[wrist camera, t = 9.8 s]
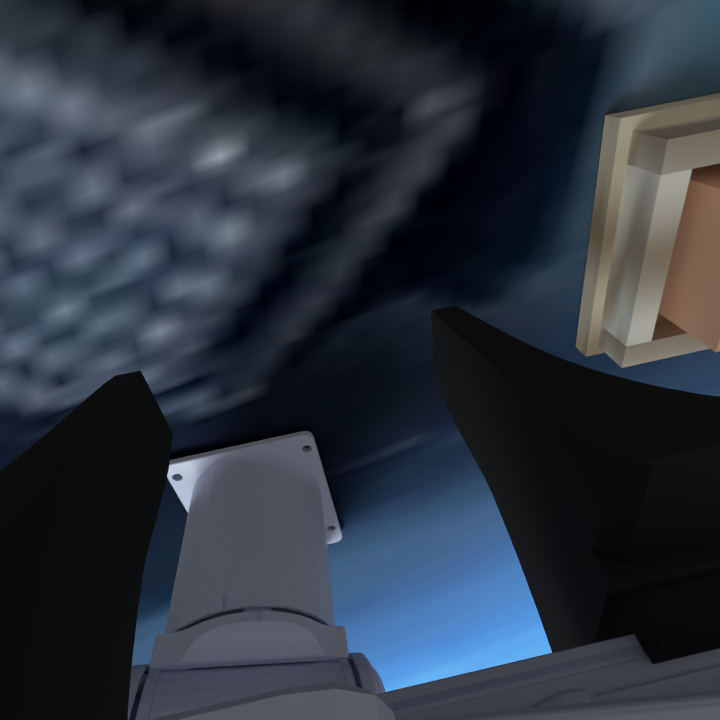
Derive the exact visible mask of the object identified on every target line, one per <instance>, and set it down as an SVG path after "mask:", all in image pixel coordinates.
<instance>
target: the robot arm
mask: <svg viewBox="0 0 720 720" xmlns="http://www.w3.org/2000/svg"><path fill="white" fill-rule="evenodd" d="M431 316H432V330H433V344H434V358H435V372H436V379H437V382H438V384H439V387H440V390H441V393H442V395H443V398H444V401H445V403H446V406H447V408H448V410H449V412H450V414H451V416H452V418H453V420H454V422H455V424H456V426H457V427H458V429H459V431H460V433H461V435H462V437H463V439H464V440H465V442H466V444H467V446H468V448H469V450H470V451H471V453H472V455H473V457H474V459H475V461H476V462H477V464H478V466H479V468H480V470H481V472H482V473H483V475H484V477H485V479H486V481H487V483H488V485H489V488H490V490H491V492H492V494H493V496H494V499H495V501H496V504H497V506H498V509H499V511H500V513H501V516H502V518H503V521H504V523H505V526H506V528H507V531H508V533H509V536H510V538H511V541H512V544H513V546H514V549H515V551H516V554H517V556H518V559H519V561H520V564H521V567H522V569H523V572H524V575H525V577H526V580H527V583H528V586H529V588H530V591H531V594H532V596H533V599H534V602H535V605H536V607H537V610H538V613H539V616H540V618H541V621H542V624H543V627H544V630H545V633H546V636H547V638H548V641H549V644H550V647H551V650H552V653H550V654H546V655H542V656H537V657H533V658H529V659H525V660H520V661H516V662H512V663H508V664H503V665H499V666H495V667H491V668H486V669H482V670H478V671H474V672H469V673H465V674H461V675H457V676H452V677H448V678H444V679H440V680H436V681H431V682H427V683H423V684H419V685H414V686H410V687H406V688H402V689H397V690H393V691H389V692H385V688H384V686H383V683H382V680H381V678H380V676H379V674H378V673H377V671H376V670H375V669H374V668H373V667H372V666H371V664H370V662H369V661H368V659H367V658H366V657H365V655H363V654H362V653H359V652H358V653H348V646H347V638H346V629H345V627H344V626H335V618H334V608H333V598H332V588H331V578H330V568H329V558H328V548H327V544H331V543H335V542H338V541H340V540H341V539H342V532H341V528H340V525H339V521H338V518H337V514H336V511H335V508H334V504H333V501H332V497H331V494H330V490H329V487H328V483H327V480H326V477H325V473H324V470H323V466H322V463H321V459H320V456H319V453H318V449H317V446H316V442H315V439H314V436H313V434H312V433H311V432H309V431H301V432H296V433H292V434H287V435H283V436H278V437H273V438H269V439H264V440H260V441H255V442H250V443H246V444H241V445H237V446H232V447H227V448H223V449H218V450H214V451H209V452H204V453H200V454H195V455H191V456H186V457H181V458H177V459H172V460H170V455H171V444H172V431H171V429H170V427H169V425H168V423H167V421H166V419H165V417H164V415H163V413H162V411H161V409H160V408H159V406H158V404H157V402H156V400H155V398H154V396H153V394H152V392H151V390H150V388H149V386H148V384H147V382H146V380H145V378H144V376H143V375H142V373H141V371H136V372H132V373H127V374H122V375H117V376H114V377H113V378H112V379H110V380H109V381H107V382H106V383H105V384H103V385H102V386H101V387H100V388H99V389H97V390H96V391H95V392H94V393H93V394H92V395H90V396H89V397H88V398H87V399H86V400H85V401H84V402H82V403H81V404H80V405H79V406H78V407H77V408H76V409H74V410H73V411H72V412H71V413H70V414H69V415H68V416H66V417H65V418H64V419H63V420H62V421H61V422H60V423H59V424H57V425H56V426H55V427H54V428H53V429H52V430H51V431H49V432H48V433H47V434H46V435H45V436H43V437H42V438H41V439H40V440H38V441H37V442H36V443H35V444H34V445H32V446H31V447H30V448H29V449H28V450H26V451H25V452H24V453H23V454H21V455H20V456H19V457H18V458H17V459H15V460H14V461H13V462H12V463H10V464H9V465H8V466H7V467H5V468H4V469H3V470H1V471H0V720H720V397H716V396H709V395H701V394H695V393H690V392H685V391H679V390H674V389H668V388H663V387H658V386H654V385H649V384H645V383H640V382H636V381H632V380H628V379H625V378H621V377H617V376H613V375H609V374H606V373H602V372H599V371H596V370H593V369H589V368H586V367H584V366H581V365H578V364H575V363H572V362H569V361H567V360H564V359H561V358H558V357H556V356H553V355H551V354H549V353H546V352H544V351H542V350H539V349H537V348H535V347H533V346H531V345H528V344H526V343H524V342H522V341H520V340H518V339H516V338H514V337H512V336H510V335H508V334H506V333H504V332H502V331H500V330H498V329H497V328H495V327H493V326H491V325H489V324H487V323H486V322H484V321H482V320H480V319H479V318H477V317H475V316H473V315H471V314H470V313H468V312H466V311H464V310H462V309H460V308H458V307H456V306H453V307H448V308H443V309H438V310H434V311H431ZM307 445H308V446H310V447H304V446H307ZM175 474H180V475H175ZM167 478H168V479H169V481H170V483H171V485H172V486H173V488H174V490H175V492H176V493H177V495H178V497H179V498H180V500H181V502H182V504H183V505H184V507H185V509H186V511H187V512H188V517H187V522H186V527H185V532H184V537H183V543H182V548H181V553H180V558H179V563H178V568H177V574H176V579H175V584H174V589H173V594H172V600H171V605H170V610H169V615H168V620H167V625H166V631H165V634H159V635H157V636H156V640H155V645H154V649H153V654H152V659H151V664H150V666H149V664H145V665H134V666H132V655H133V646H134V638H135V629H136V620H137V611H138V604H139V598H140V591H141V584H142V577H143V570H144V565H145V561H146V556H147V551H148V548H149V544H150V540H151V536H152V532H153V529H154V525H155V521H156V517H157V513H158V510H159V506H160V502H161V498H162V494H163V490H164V487H165V483H166V479H167Z"/></svg>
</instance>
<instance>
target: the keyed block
mask: <svg viewBox="0 0 720 720" xmlns="http://www.w3.org/2000/svg"><path fill="white" fill-rule="evenodd" d="M658 313H659V314H661V315H662V316H664V317H665V318H667V319H668V320H670V321H671V322H673V323H674V324H675V325H677V326H678V327H680V328H681V329H683V330H684V331H686V332H687V333H688V334H690V335H691V336H693V337H694V338H696V339H697V340H699V341H700V342H701V343H703V344H704V345H706V346H707V347H709V348H710V349H712V350H713V351H715V352H719V351H720V163H719V164H714V165H709V166H704V167H699V168H694V169H692V172H691V176H690V181H689V185H688V189H687V193H686V198H685V202H684V206H683V210H682V214H681V219H680V223H679V227H678V231H677V235H676V240H675V244H674V248H673V252H672V256H671V261H670V265H669V269H668V273H667V278H666V282H665V286H664V290H663V294H662V299H661V303H660V307H659V311H658Z"/></svg>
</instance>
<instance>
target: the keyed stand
mask: <svg viewBox="0 0 720 720" xmlns="http://www.w3.org/2000/svg"><path fill="white" fill-rule="evenodd" d="M719 163H720V93H715V94H710V95H705V96H700V97H695V98H690V99H685V100H680V101H675V102H670V103H665V104H660V105H654V106H649V107H644V108H639V109H634V110H629V111H624V112H619V113H614V114H609V115H605V121H604V129H603V136H602V144H601V152H600V160H599V168H598V175H597V183H596V191H595V199H594V206H593V214H592V222H591V230H590V238H589V245H588V253H587V261H586V269H585V276H584V284H583V292H582V300H581V307H580V315H579V323H578V331H577V339H576V347H577V348H578V349H579V350H580V351H581V352H582V353H583V354H584V355H585V356H586V357H587V356H591V355H596V354H601V353H606V354H607V355H608V356H610V357H611V358H612V359H613V360H614V361H615V362H616V363H617V364H618V365H619V366H620V367H621V368H623V367H628V366H632V365H637V364H642V363H646V362H651V361H655V360H660V359H664V358H669V357H674V356H678V355H683V354H687V353H692V352H697V351H701V350H706V349H710V348H709V347H707V346H706V345H704V344H703V343H701V342H700V341H699V340H697V339H696V338H694V337H693V336H691V335H690V334H688V333H687V332H686V331H684V330H683V329H681V328H680V327H678V326H677V325H675V324H674V323H673V322H671V321H670V320H668V319H667V318H665V317H664V316H662V315H661V314H659V313H658V311H659V307H660V303H661V299H662V294H663V290H664V286H665V282H666V278H667V273H668V269H669V265H670V261H671V256H672V252H673V248H674V244H675V240H676V235H677V231H678V227H679V223H680V219H681V214H682V210H683V206H684V202H685V198H686V193H687V189H688V185H689V181H690V176H691V172H692V169H694V168H699V167H704V166H709V165H714V164H719Z"/></svg>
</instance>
